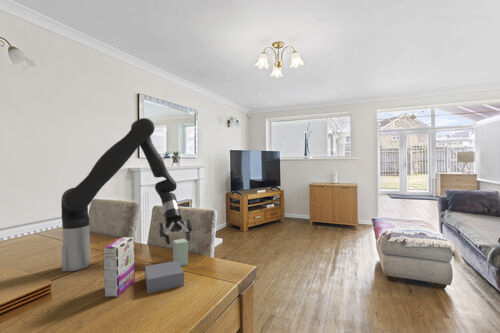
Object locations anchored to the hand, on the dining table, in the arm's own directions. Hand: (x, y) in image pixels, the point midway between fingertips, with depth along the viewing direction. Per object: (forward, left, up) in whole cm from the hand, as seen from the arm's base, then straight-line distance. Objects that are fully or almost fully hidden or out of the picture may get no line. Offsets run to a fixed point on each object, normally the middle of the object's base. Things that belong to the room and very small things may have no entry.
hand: (179, 242), depth 108 cm
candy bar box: (-24, -13, -9) cm, 29 cm away
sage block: (0, -3, -9) cm, 9 cm away
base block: (-10, -16, -9) cm, 21 cm away
